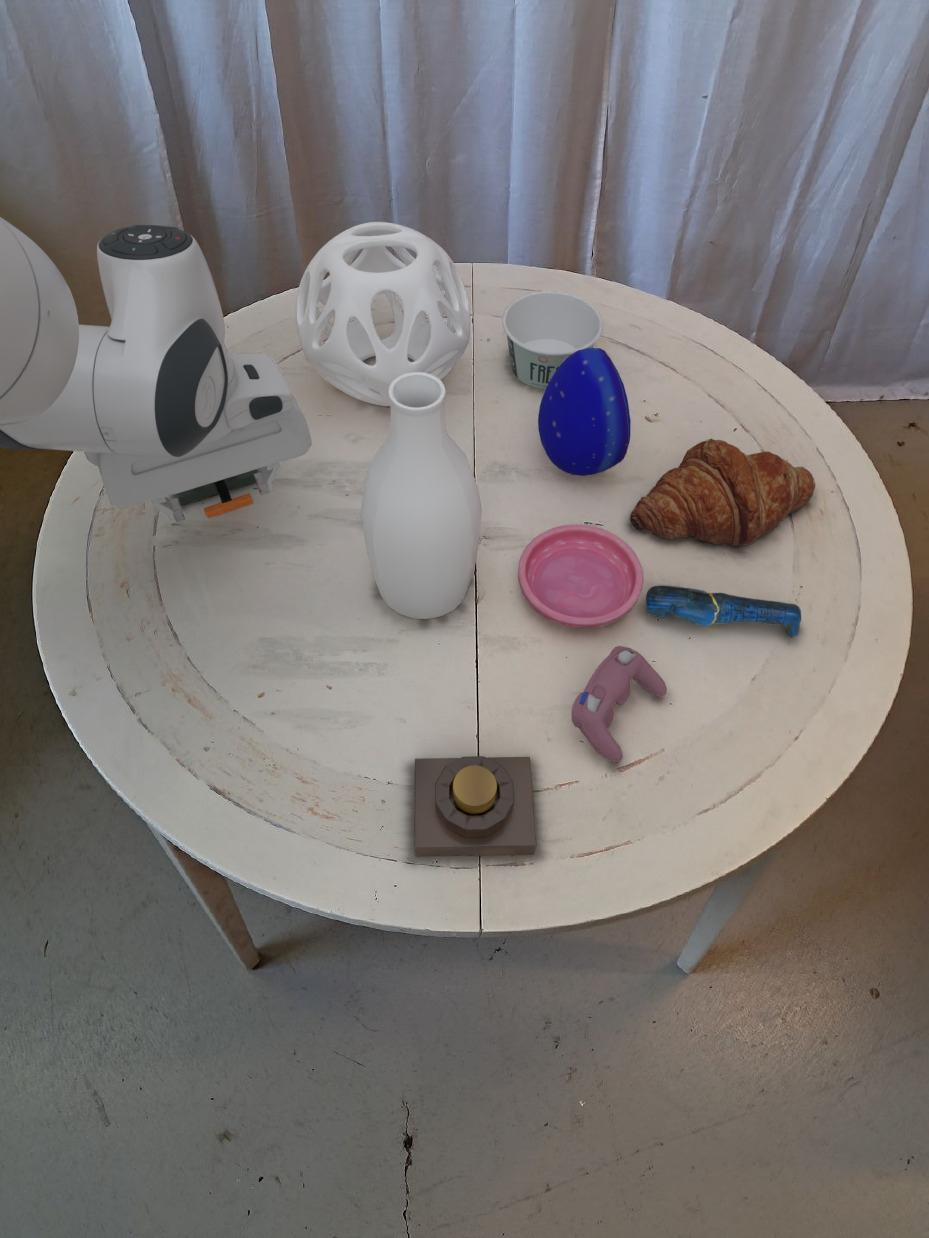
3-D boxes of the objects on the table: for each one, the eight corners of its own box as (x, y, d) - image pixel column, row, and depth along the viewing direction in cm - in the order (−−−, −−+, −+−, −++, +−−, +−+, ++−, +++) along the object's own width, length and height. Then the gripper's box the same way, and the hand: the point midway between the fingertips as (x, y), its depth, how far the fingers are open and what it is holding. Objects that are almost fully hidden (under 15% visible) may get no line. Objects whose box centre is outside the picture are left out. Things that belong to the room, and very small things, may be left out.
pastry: (690, 436, 103) (706, 382, 96) (816, 490, 98) (842, 437, 92) (624, 527, 95) (637, 475, 88) (758, 590, 90) (783, 540, 84)
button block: (415, 857, 74) (413, 839, 70) (415, 769, 78) (414, 748, 75) (534, 854, 74) (538, 837, 71) (528, 767, 78) (531, 747, 75)
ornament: (633, 485, 98) (660, 378, 86) (557, 504, 96) (574, 398, 84) (593, 420, 104) (613, 311, 92) (521, 437, 102) (531, 329, 90)
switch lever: (253, 506, 94) (253, 501, 92) (207, 521, 93) (206, 516, 91) (210, 394, 95) (209, 385, 92) (164, 407, 93) (162, 399, 91)
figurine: (791, 620, 89) (641, 604, 90) (801, 589, 87) (647, 573, 88) (799, 649, 85) (642, 632, 87) (809, 617, 83) (648, 601, 84)
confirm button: (453, 814, 72) (453, 806, 71) (452, 774, 74) (452, 765, 73) (497, 813, 72) (498, 805, 71) (495, 773, 74) (495, 764, 73)
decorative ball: (481, 426, 103) (487, 296, 89) (311, 442, 101) (289, 312, 87) (456, 321, 115) (457, 190, 100) (302, 333, 113) (281, 202, 98)
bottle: (367, 547, 93) (344, 347, 72) (473, 540, 93) (480, 341, 73) (370, 634, 86) (346, 443, 65) (483, 627, 87) (495, 436, 66)
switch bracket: (260, 480, 98) (243, 413, 90) (180, 505, 96) (156, 439, 88) (233, 423, 103) (215, 355, 95) (157, 446, 101) (132, 378, 93)
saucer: (552, 658, 85) (556, 639, 82) (495, 566, 91) (497, 546, 89) (661, 614, 88) (668, 595, 86) (599, 528, 95) (603, 508, 92)
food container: (576, 328, 114) (583, 283, 109) (609, 388, 108) (618, 344, 102) (487, 343, 112) (489, 298, 107) (516, 405, 106) (519, 360, 100)
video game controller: (630, 681, 86) (612, 629, 81) (672, 691, 83) (655, 638, 78) (578, 756, 81) (555, 704, 77) (620, 770, 78) (599, 717, 74)
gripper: (82, 454, 76) (128, 557, 87) (308, 390, 81) (324, 494, 92) (67, 409, 79) (113, 513, 90) (285, 350, 84) (303, 455, 96)
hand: (221, 503), depth 91 cm, fingers open, 8 cm apart
